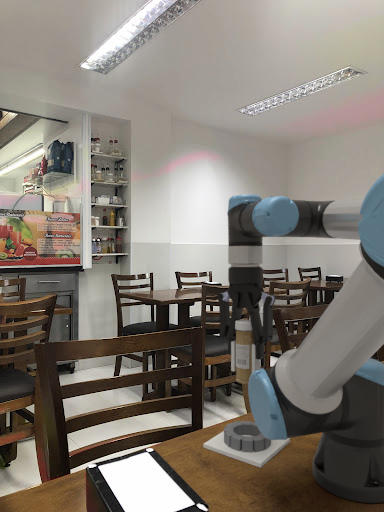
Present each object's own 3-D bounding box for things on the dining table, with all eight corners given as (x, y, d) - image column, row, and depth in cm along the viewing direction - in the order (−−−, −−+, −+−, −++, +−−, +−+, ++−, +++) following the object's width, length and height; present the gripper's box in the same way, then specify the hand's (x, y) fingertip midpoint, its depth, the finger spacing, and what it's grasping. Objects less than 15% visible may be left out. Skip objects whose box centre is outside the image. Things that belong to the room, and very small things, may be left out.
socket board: (290, 442, 92) (290, 427, 92) (260, 467, 81) (260, 451, 81) (236, 426, 101) (236, 413, 101) (203, 447, 90) (203, 432, 90)
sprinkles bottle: (260, 382, 90) (260, 320, 90) (245, 385, 87) (244, 322, 87) (246, 377, 93) (246, 318, 93) (231, 380, 91) (230, 320, 91)
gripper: (289, 265, 88) (290, 374, 88) (220, 265, 98) (221, 362, 98) (275, 266, 82) (275, 382, 82) (203, 265, 92) (203, 369, 92)
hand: (245, 371), depth 90 cm, fingers closed on sprinkles bottle, 4 cm apart
